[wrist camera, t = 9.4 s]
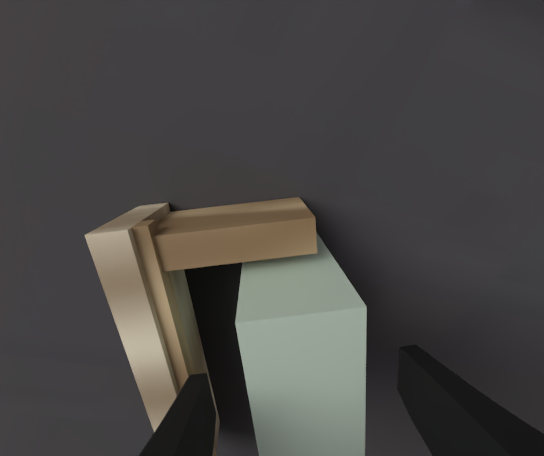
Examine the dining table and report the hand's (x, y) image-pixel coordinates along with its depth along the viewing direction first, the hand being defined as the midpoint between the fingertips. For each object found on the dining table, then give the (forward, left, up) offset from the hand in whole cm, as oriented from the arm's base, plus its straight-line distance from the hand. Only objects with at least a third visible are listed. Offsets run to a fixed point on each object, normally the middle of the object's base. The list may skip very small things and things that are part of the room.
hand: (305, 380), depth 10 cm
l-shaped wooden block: (-2, +3, -6) cm, 7 cm away
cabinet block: (0, 0, -6) cm, 6 cm away
